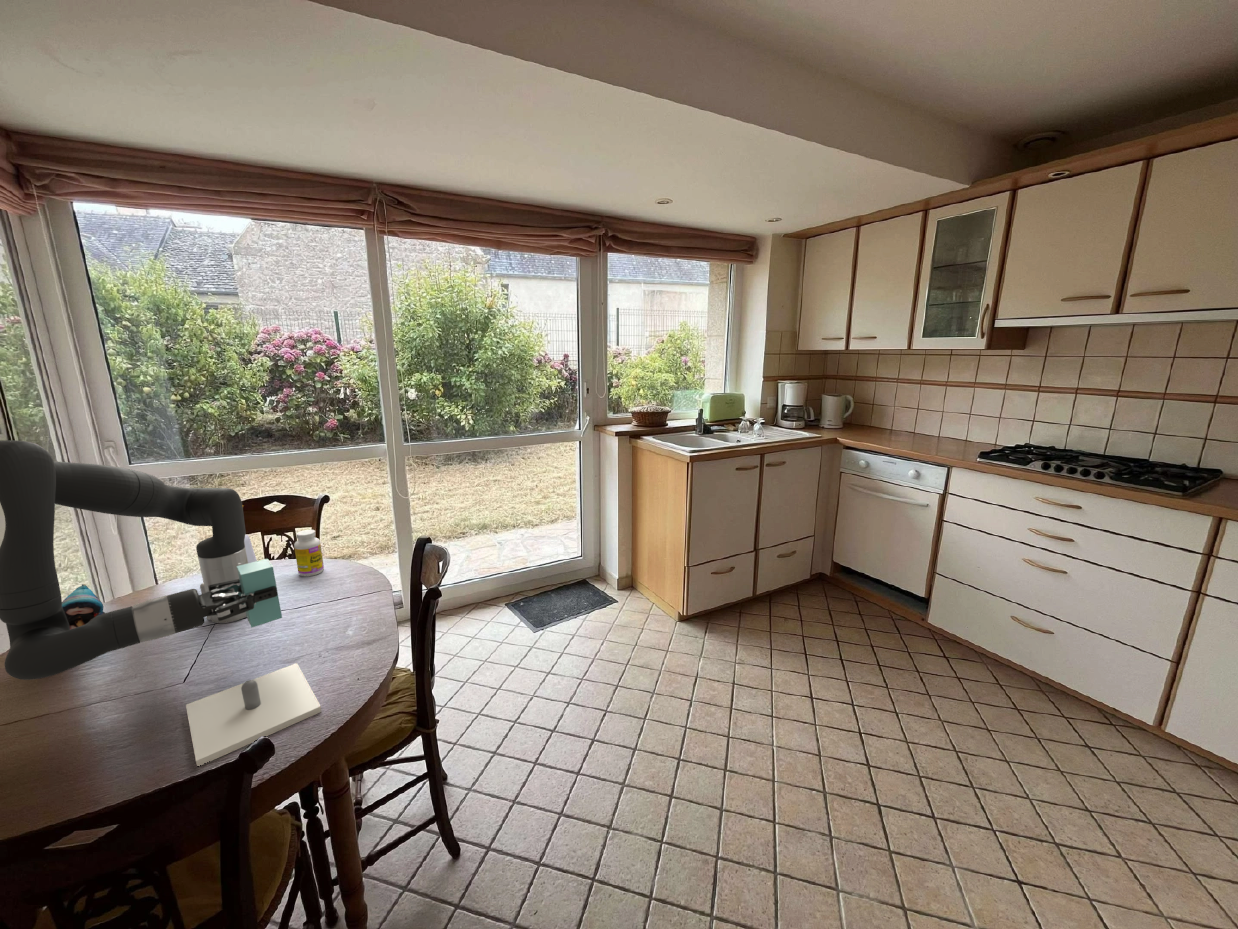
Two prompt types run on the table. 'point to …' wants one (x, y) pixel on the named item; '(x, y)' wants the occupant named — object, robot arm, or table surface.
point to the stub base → (249, 712)
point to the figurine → (81, 606)
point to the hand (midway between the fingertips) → (273, 585)
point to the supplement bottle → (308, 553)
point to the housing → (257, 579)
